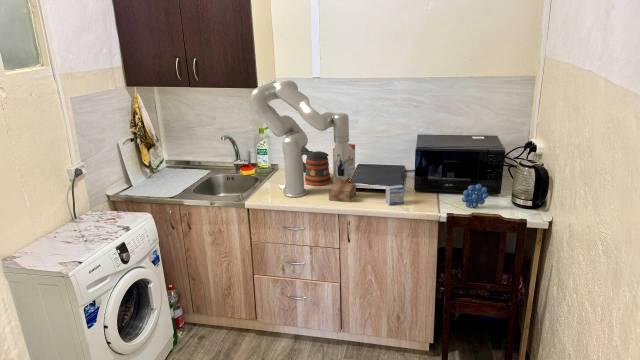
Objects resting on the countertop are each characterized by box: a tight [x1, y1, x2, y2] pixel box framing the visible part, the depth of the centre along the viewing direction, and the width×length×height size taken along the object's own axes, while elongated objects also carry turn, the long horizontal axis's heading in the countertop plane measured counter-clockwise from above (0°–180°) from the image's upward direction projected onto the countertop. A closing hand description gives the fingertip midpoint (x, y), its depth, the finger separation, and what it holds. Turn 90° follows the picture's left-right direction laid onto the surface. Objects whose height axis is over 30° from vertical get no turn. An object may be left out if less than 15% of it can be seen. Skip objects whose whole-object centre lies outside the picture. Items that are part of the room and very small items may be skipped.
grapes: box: [461, 183, 489, 209], centre depth 221 cm, size 12×7×12 cm, turn 74°
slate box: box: [336, 161, 349, 177], centre depth 236 cm, size 5×5×7 cm
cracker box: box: [332, 142, 356, 185], centre depth 261 cm, size 14×6×21 cm, turn 143°
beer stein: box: [301, 146, 332, 187], centre depth 264 cm, size 19×15×20 cm
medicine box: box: [385, 184, 405, 206], centre depth 230 cm, size 8×4×9 cm, turn 105°
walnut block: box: [328, 182, 357, 203], centre depth 240 cm, size 11×11×6 cm
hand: (342, 173), depth 237 cm, fingers closed on slate box, 5 cm apart
